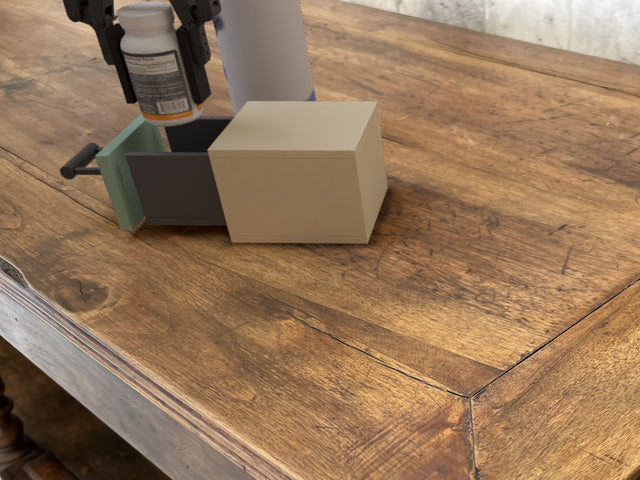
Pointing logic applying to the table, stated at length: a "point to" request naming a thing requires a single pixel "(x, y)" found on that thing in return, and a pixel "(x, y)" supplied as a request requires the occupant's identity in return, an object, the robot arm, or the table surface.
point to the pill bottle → (156, 64)
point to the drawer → (158, 173)
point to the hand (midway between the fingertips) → (169, 98)
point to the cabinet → (301, 172)
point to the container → (264, 51)
